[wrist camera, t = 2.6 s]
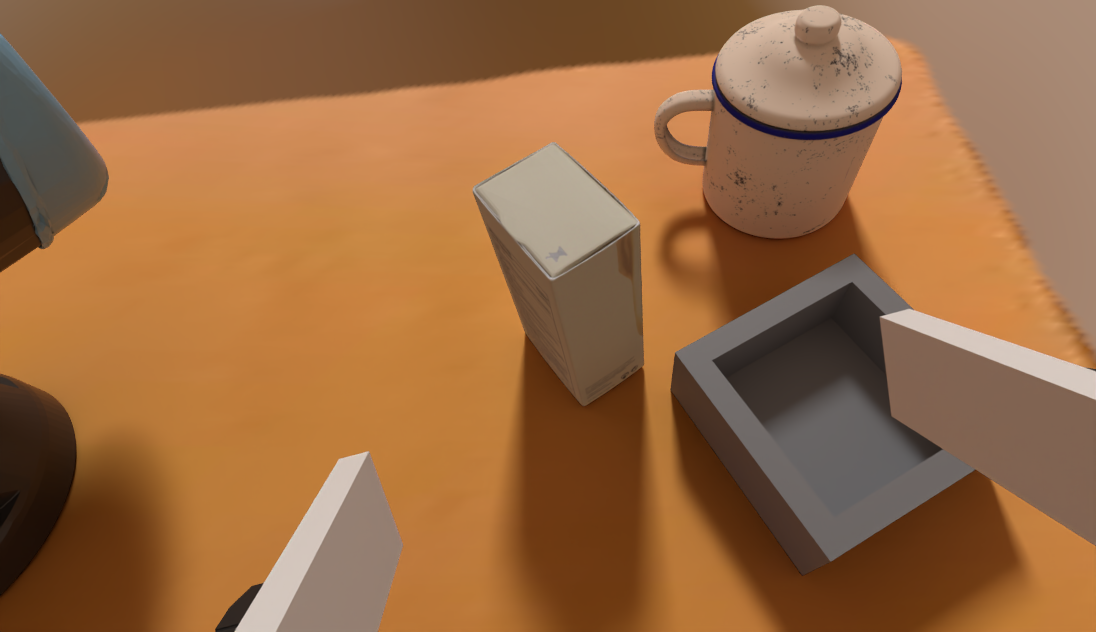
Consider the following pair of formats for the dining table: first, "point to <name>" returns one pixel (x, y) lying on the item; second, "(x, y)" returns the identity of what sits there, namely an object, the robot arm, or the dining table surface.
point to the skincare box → (569, 267)
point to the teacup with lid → (788, 119)
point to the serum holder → (812, 414)
